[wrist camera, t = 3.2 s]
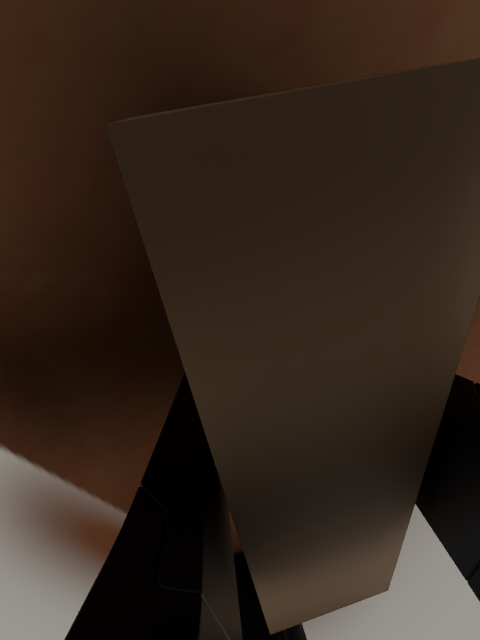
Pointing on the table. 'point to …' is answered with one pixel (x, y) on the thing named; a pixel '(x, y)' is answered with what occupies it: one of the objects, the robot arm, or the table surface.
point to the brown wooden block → (317, 306)
